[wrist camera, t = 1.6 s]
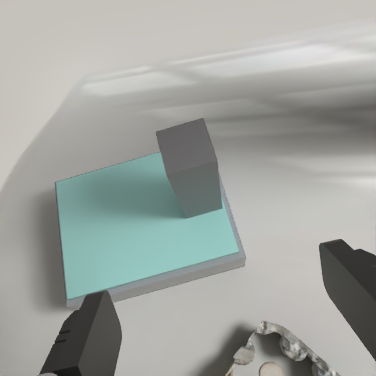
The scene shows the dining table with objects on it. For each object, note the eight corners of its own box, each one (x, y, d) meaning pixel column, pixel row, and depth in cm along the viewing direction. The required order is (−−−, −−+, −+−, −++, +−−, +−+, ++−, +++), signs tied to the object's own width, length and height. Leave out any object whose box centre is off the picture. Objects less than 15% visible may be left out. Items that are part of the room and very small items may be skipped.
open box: (210, 159, 40) (207, 138, 35) (244, 265, 35) (245, 257, 30) (75, 198, 40) (54, 182, 36) (88, 309, 35) (66, 307, 30)
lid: (204, 146, 36) (191, 71, 25) (238, 254, 31) (240, 218, 20) (62, 187, 36) (-9, 131, 26) (74, 300, 31) (-8, 288, 21)
